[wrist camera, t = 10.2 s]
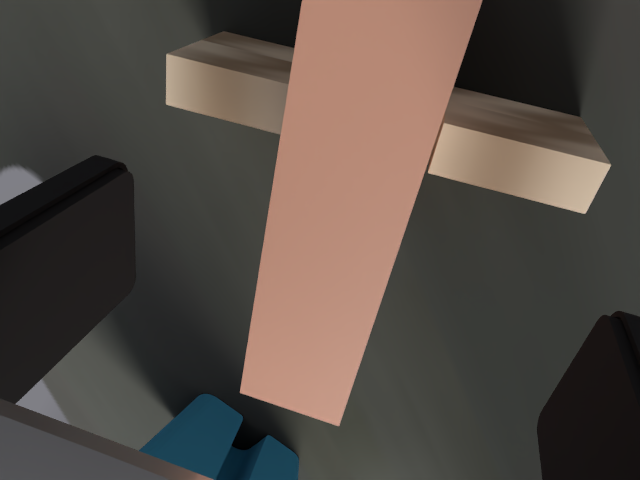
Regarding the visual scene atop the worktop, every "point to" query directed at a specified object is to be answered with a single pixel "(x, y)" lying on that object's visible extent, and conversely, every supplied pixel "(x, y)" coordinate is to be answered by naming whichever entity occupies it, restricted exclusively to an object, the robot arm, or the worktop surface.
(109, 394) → the worktop surface
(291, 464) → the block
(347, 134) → the terracotta plate
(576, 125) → the slot plate base
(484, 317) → the worktop surface
